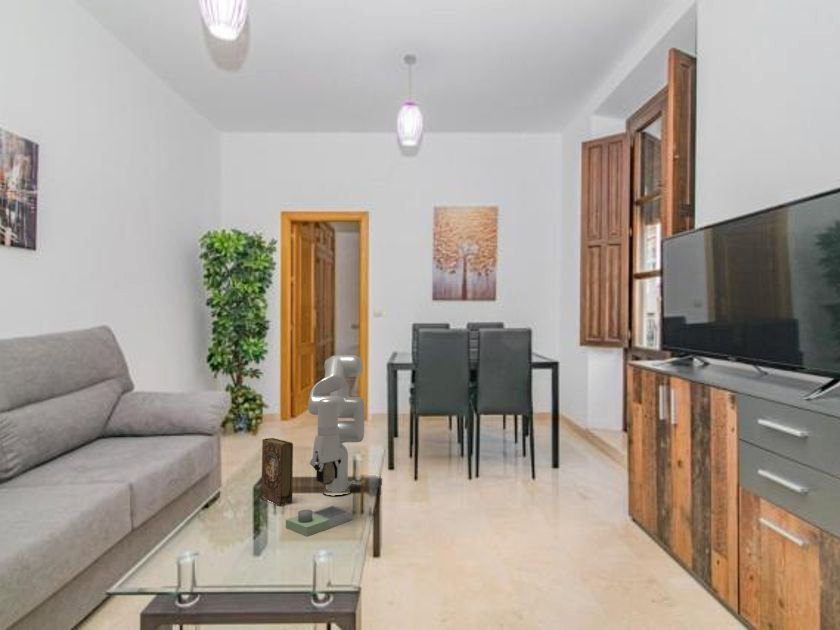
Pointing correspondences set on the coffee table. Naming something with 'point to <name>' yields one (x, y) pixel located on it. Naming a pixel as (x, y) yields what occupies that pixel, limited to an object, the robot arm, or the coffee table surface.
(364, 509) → the coffee table surface
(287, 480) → the book
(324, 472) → the decorative egg
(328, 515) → the tray
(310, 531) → the deck
